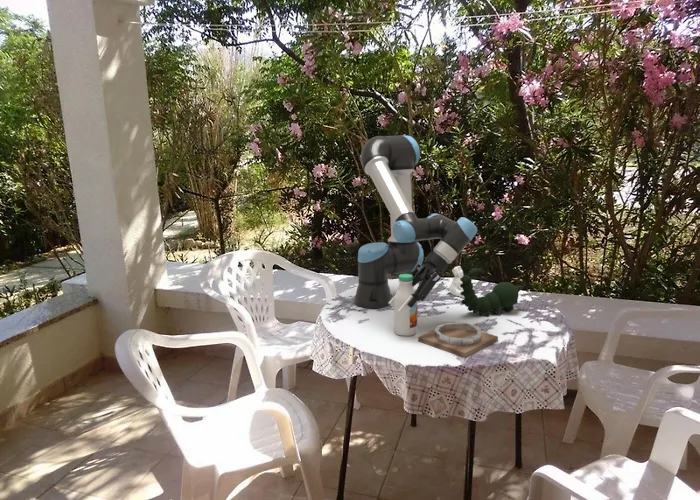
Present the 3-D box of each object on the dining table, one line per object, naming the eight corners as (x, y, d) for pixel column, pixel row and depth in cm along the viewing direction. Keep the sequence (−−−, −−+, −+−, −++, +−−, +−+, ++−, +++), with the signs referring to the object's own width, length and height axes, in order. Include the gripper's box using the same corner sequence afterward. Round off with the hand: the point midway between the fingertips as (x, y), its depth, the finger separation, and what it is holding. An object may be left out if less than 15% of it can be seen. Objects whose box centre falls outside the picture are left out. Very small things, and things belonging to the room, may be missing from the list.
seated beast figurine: (465, 299, 210) (466, 270, 208) (444, 296, 214) (445, 267, 212) (472, 292, 218) (473, 264, 216) (452, 290, 222) (453, 262, 220)
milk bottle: (402, 338, 172) (402, 279, 167) (389, 330, 178) (389, 274, 174) (421, 333, 175) (422, 276, 171) (408, 326, 182) (408, 270, 177)
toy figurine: (470, 324, 187) (531, 311, 193) (467, 274, 182) (530, 261, 188) (458, 316, 196) (516, 303, 202) (455, 267, 191) (515, 256, 197)
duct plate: (418, 341, 169) (418, 336, 169) (451, 326, 181) (451, 322, 180) (464, 357, 156) (464, 352, 156) (497, 340, 168) (497, 336, 168)
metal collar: (426, 336, 168) (426, 330, 168) (453, 325, 178) (453, 319, 178) (463, 349, 158) (463, 343, 158) (489, 336, 168) (490, 330, 167)
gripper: (463, 271, 167) (416, 326, 166) (433, 257, 186) (391, 306, 185) (448, 257, 164) (401, 312, 163) (420, 244, 183) (377, 293, 182)
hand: (396, 309), depth 174 cm, fingers closed on milk bottle, 8 cm apart
